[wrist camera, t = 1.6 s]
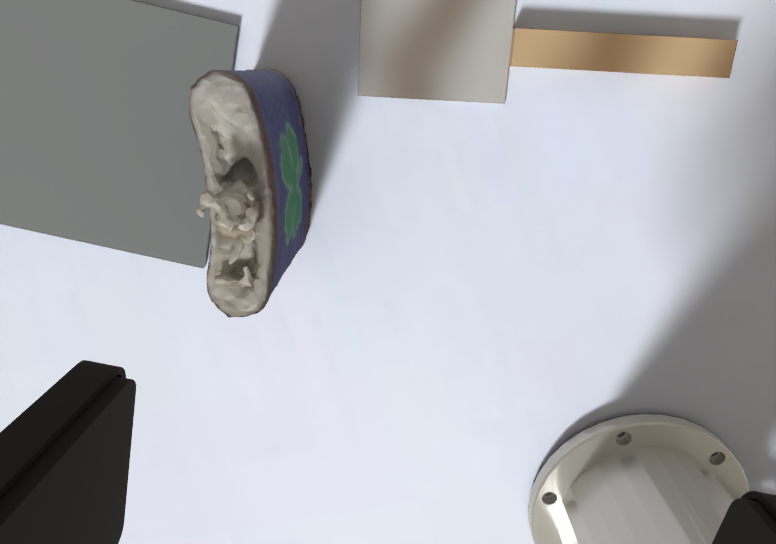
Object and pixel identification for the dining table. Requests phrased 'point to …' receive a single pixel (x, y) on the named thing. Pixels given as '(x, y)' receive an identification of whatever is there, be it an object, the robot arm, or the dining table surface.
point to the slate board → (106, 123)
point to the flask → (251, 182)
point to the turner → (503, 50)
